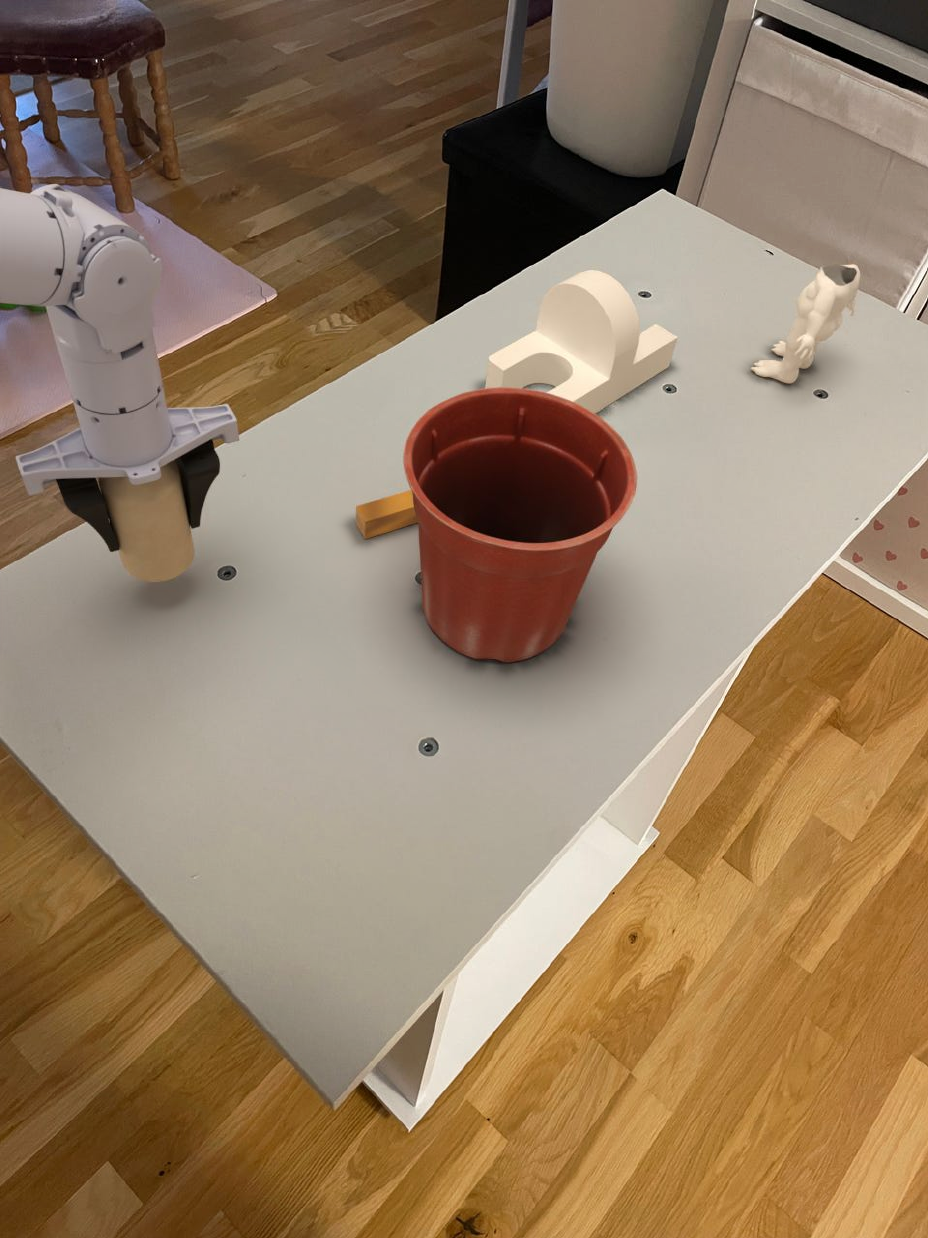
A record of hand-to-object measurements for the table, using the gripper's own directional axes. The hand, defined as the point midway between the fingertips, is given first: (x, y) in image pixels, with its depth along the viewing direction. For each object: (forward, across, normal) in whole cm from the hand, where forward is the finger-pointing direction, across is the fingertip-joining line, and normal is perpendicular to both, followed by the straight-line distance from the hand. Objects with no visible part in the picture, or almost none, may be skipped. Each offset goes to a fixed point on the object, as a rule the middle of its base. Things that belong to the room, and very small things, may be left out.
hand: (151, 530), depth 74 cm
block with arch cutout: (+7, +46, +11) cm, 48 cm away
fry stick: (+7, +24, 0) cm, 25 cm away
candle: (+3, 0, 0) cm, 3 cm away
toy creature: (+7, +68, +4) cm, 69 cm away
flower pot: (+7, +24, -12) cm, 28 cm away
